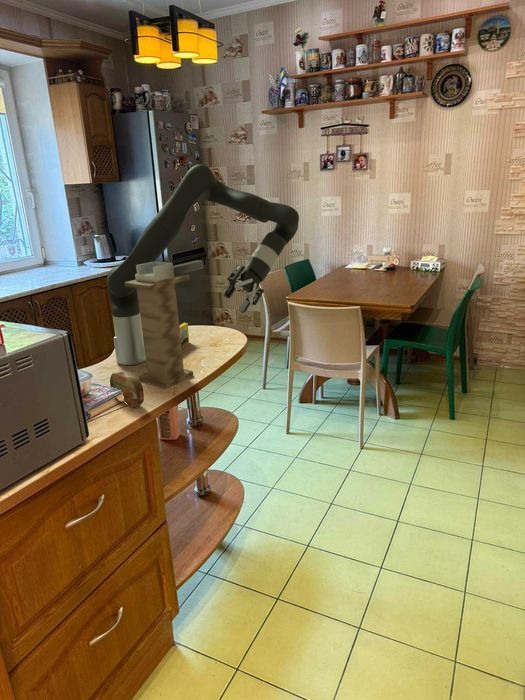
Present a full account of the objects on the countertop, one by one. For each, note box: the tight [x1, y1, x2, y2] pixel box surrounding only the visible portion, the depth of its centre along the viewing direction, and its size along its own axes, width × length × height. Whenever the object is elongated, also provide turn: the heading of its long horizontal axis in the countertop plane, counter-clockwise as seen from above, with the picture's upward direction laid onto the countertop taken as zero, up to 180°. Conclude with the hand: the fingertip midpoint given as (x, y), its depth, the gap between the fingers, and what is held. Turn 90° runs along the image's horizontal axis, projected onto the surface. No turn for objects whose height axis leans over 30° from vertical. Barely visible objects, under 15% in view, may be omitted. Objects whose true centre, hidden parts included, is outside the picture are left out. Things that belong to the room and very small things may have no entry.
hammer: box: [135, 259, 205, 283], centre depth 152 cm, size 24×8×4 cm, turn 144°
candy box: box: [179, 322, 190, 349], centre depth 183 cm, size 16×2×8 cm, turn 161°
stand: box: [125, 274, 194, 389], centre depth 153 cm, size 16×12×32 cm
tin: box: [109, 371, 145, 409], centre depth 141 cm, size 15×3×8 cm, turn 45°
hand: (233, 304), depth 153 cm, fingers open, 8 cm apart
